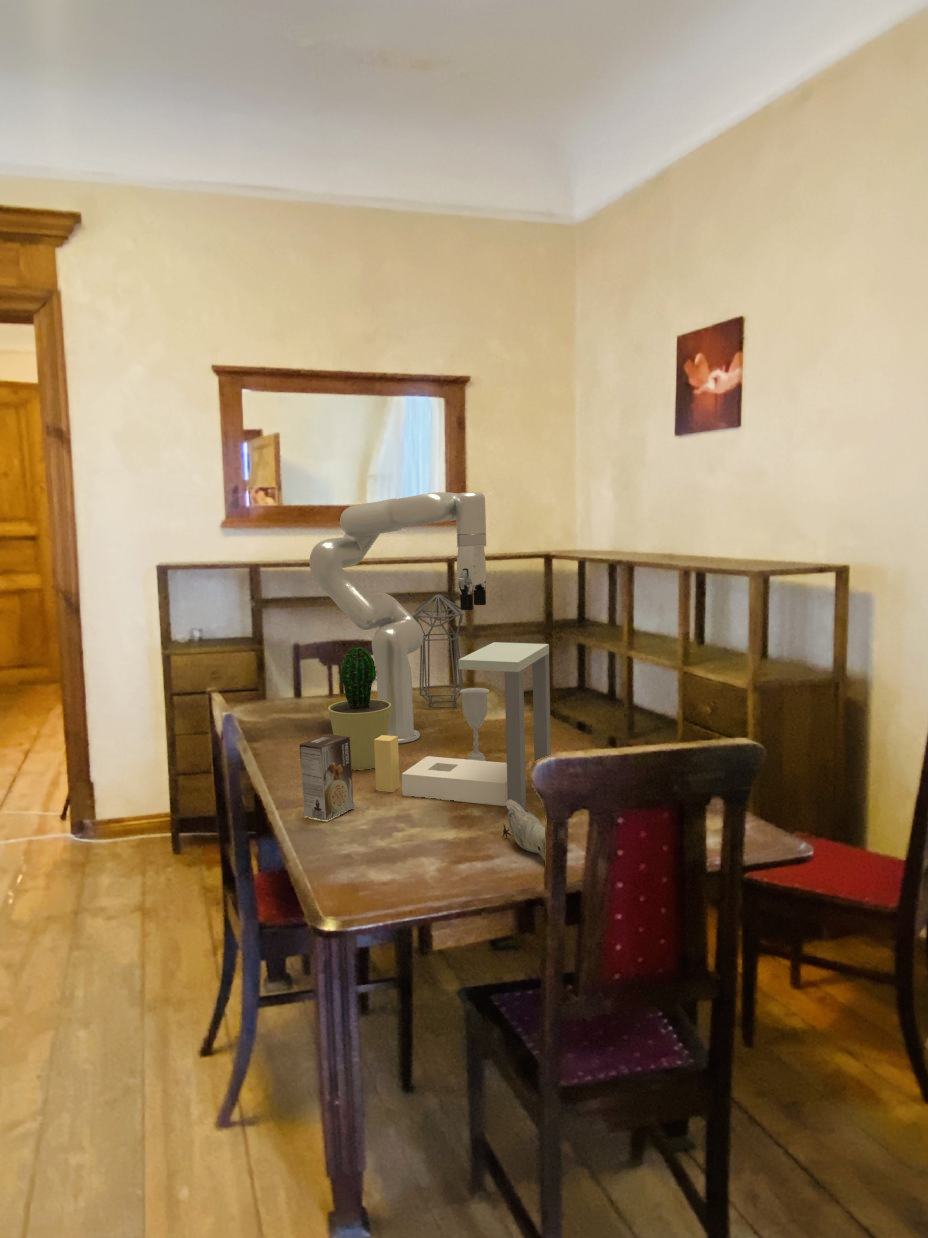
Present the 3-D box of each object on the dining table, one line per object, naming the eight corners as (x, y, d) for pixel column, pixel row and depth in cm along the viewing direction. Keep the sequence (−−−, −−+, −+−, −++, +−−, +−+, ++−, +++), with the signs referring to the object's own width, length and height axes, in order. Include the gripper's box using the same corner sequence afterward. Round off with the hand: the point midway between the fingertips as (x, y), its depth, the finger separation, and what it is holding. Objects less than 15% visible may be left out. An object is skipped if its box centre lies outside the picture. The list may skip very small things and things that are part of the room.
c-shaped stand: (463, 808, 193) (458, 659, 189) (497, 777, 213) (494, 642, 209) (521, 814, 188) (518, 662, 184) (551, 782, 209) (548, 644, 204)
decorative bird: (537, 868, 162) (536, 828, 161) (497, 839, 176) (496, 801, 176) (564, 863, 164) (563, 823, 163) (522, 834, 179) (521, 797, 178)
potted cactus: (319, 770, 223) (313, 649, 219) (348, 753, 237) (343, 639, 233) (376, 775, 218) (371, 651, 213) (403, 757, 232) (398, 640, 228)
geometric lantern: (466, 710, 279) (463, 596, 274) (415, 711, 280) (410, 598, 275) (467, 698, 295) (463, 591, 290) (418, 700, 295) (414, 592, 290)
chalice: (494, 759, 228) (492, 688, 225) (486, 767, 221) (484, 694, 219) (466, 757, 230) (464, 687, 228) (458, 765, 224) (455, 693, 221)
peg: (376, 791, 206) (373, 739, 204) (384, 785, 210) (381, 735, 208) (392, 793, 205) (390, 740, 203) (399, 787, 208) (397, 736, 207)
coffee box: (331, 805, 198) (327, 732, 196) (354, 809, 195) (351, 736, 192) (302, 818, 190) (298, 743, 188) (326, 823, 187) (322, 747, 185)
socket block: (402, 795, 203) (401, 773, 202) (427, 776, 215) (427, 756, 215) (505, 806, 194) (504, 783, 193) (525, 785, 207) (524, 764, 206)
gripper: (469, 539, 243) (471, 603, 245) (445, 543, 227) (447, 611, 229) (496, 538, 240) (498, 603, 243) (473, 543, 224) (475, 612, 227)
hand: (473, 607), depth 236 cm, fingers open, 9 cm apart
